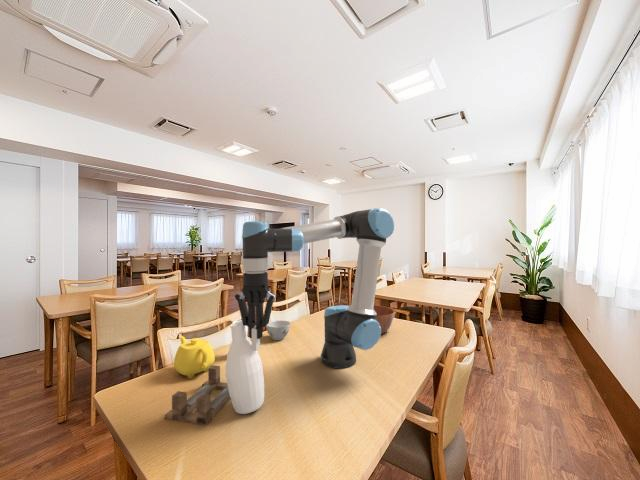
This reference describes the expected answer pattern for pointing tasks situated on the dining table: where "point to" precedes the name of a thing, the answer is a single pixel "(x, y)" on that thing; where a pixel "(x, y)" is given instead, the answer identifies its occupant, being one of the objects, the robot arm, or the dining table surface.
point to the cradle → (200, 401)
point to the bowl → (384, 317)
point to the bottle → (244, 372)
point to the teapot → (193, 357)
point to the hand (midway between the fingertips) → (255, 348)
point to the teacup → (278, 329)
